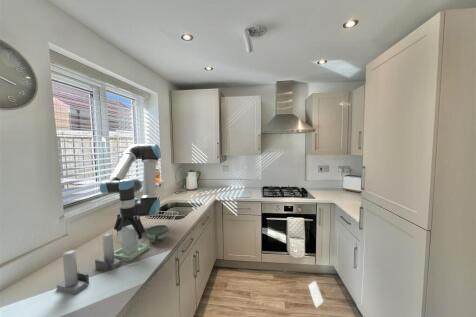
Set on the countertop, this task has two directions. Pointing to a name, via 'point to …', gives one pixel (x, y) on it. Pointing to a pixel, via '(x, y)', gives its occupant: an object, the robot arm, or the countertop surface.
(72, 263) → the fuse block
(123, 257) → the tray
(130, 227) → the skincare box
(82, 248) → the countertop surface
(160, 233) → the bowl
